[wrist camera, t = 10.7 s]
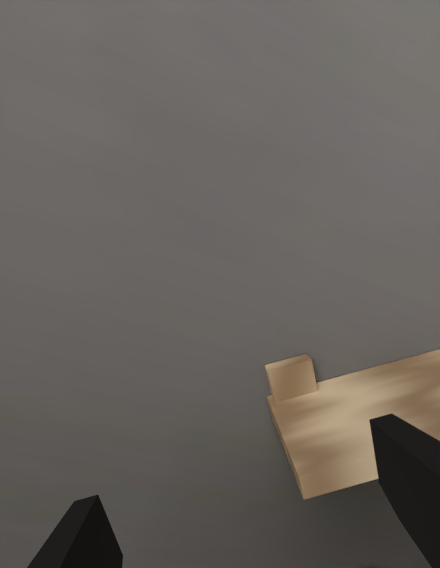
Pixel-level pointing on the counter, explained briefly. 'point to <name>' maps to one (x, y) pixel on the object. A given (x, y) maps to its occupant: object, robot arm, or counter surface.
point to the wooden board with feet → (347, 415)
